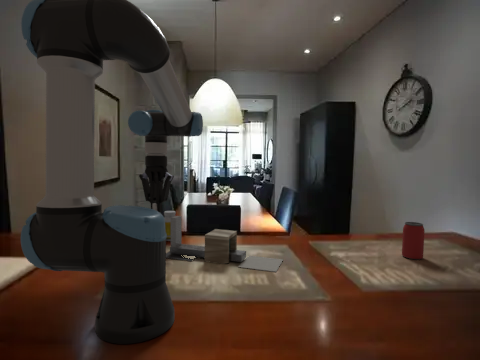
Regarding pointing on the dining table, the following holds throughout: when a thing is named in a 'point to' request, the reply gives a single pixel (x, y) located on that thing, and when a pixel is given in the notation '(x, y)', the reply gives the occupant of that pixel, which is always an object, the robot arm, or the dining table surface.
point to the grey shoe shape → (176, 256)
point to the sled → (192, 249)
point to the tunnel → (219, 245)
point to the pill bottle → (168, 223)
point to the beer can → (413, 240)
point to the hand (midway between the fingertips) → (156, 221)
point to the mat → (261, 263)
